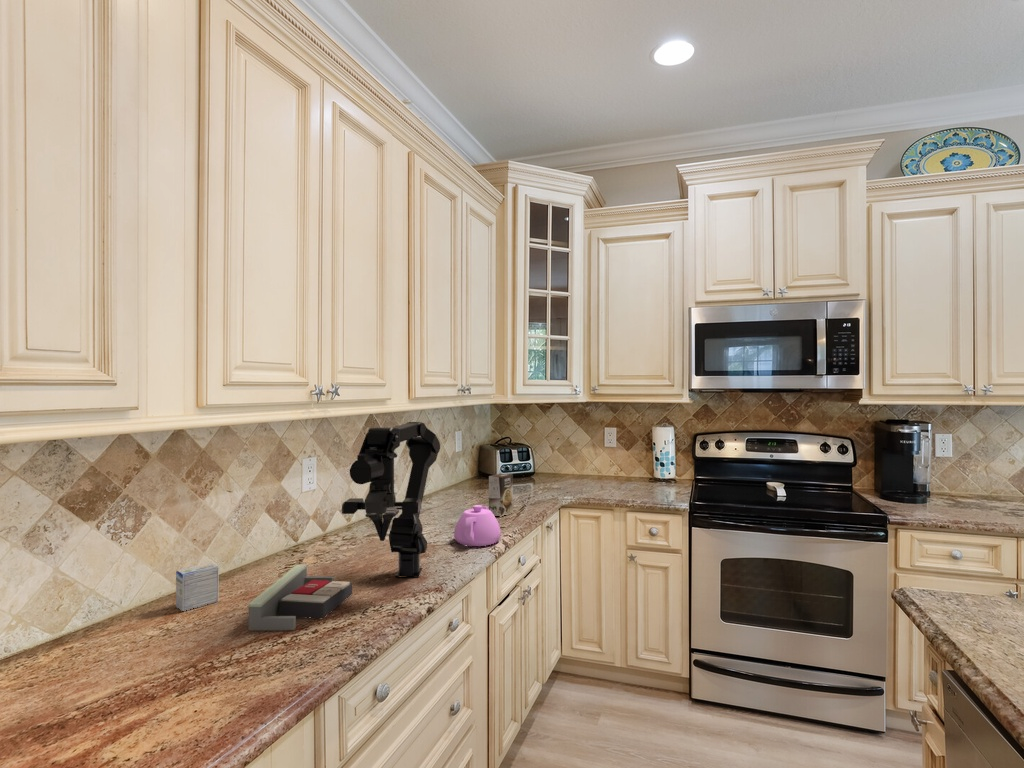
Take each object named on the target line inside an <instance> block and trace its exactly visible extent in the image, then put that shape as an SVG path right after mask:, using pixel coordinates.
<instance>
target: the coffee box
mask: <svg viewBox="0 0 1024 768" xmlns="http://www.w3.org/2000/svg"><path fill="white" fill-rule="evenodd" d="M488 510H490V511H491V512H492V513H493V514H494V515H498V516H502V515H505V514H508V513H510V512H513V513H514V474H511V473H497V474H492V475H489V476H488Z"/></svg>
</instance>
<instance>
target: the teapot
mask: <svg viewBox="0 0 1024 768" xmlns="http://www.w3.org/2000/svg"><path fill="white" fill-rule="evenodd" d="M453 537H454V540H455V541H456V542H457V543H458V544H459V543H460V544H463V545H467V546H466V547H468V546H485V545H490V546H492V545H491V544H493V545H495V544H497V542H498V541H499V540H500V538H501V537H502V531H501V526H500V524H499V521H498V519H497V517H495V516H494V514H493V513H492V512H491V511H490V510H489V506H486V505H485V506H483V505H480V504H475V505H472V508H469V509H467V510H464V511H463V512H462V513H461V515H460V517H459V519H458V520H457V522H456V524H455V527H454V531H453ZM494 543H495V544H494ZM463 545H462V546H463ZM485 547H486V546H485Z"/></svg>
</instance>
